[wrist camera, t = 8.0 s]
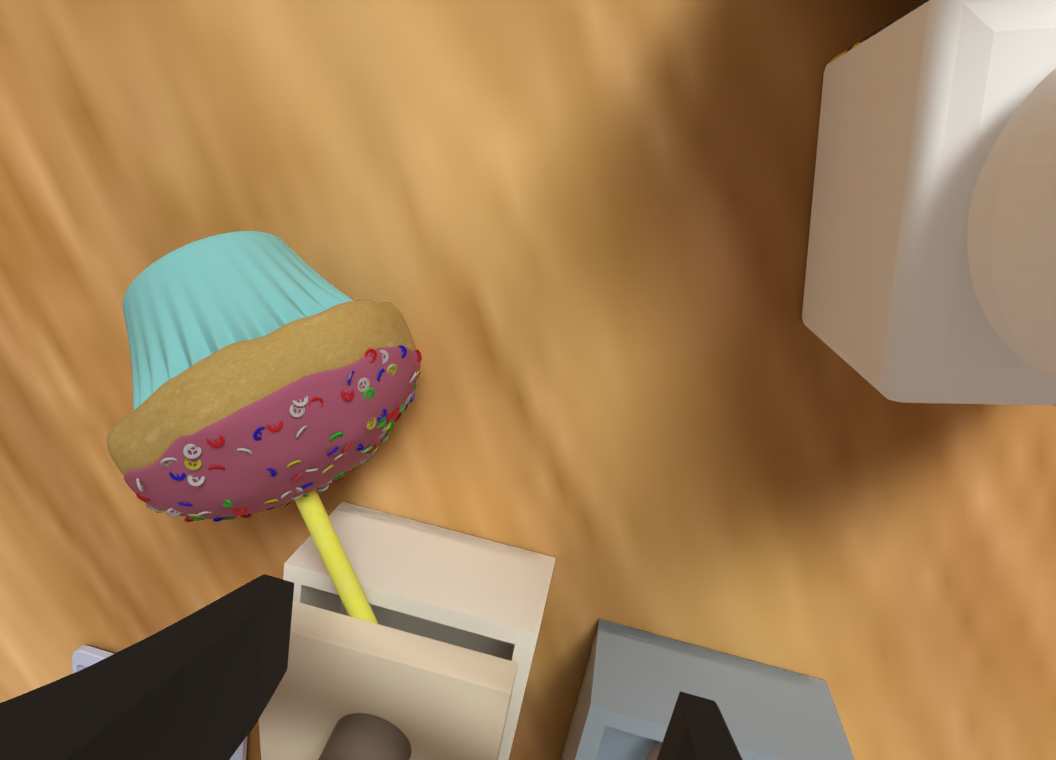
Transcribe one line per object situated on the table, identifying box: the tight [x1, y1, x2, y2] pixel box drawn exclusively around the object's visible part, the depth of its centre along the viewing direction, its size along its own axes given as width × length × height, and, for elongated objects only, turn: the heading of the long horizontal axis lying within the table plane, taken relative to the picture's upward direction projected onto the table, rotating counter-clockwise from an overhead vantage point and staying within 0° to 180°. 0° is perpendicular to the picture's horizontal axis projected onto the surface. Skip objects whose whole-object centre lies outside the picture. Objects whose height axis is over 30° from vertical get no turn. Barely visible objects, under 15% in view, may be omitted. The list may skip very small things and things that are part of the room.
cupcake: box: [107, 231, 422, 624], centre depth 18 cm, size 9×8×12 cm
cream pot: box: [283, 501, 556, 760], centre depth 22 cm, size 8×8×4 cm
